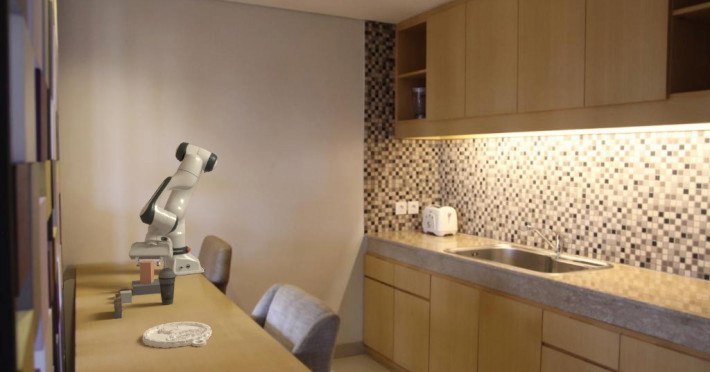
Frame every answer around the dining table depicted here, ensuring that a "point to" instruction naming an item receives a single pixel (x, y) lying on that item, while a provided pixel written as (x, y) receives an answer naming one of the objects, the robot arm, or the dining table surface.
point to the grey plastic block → (126, 296)
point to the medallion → (177, 334)
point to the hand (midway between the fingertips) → (148, 265)
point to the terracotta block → (146, 272)
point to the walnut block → (124, 289)
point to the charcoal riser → (145, 287)
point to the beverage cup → (167, 285)
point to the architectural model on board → (118, 306)
